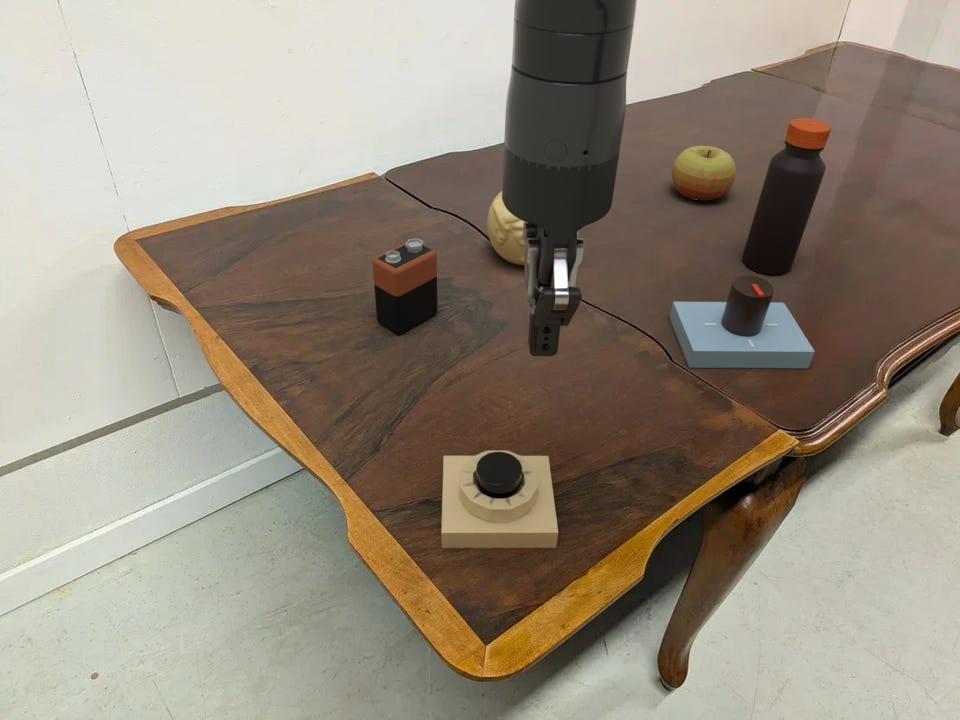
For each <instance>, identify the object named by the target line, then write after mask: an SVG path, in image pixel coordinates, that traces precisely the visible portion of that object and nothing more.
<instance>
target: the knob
mask: <svg viewBox="0 0 960 720" xmlns="http://www.w3.org/2000/svg"><path fill="white" fill-rule="evenodd" d="M728 292H729V293H728V296H727V298H726V299H727V300H726V302H727V303H726V306H725V310H724V313H723V317H722V320H721V323H722V325H723V327H724V328H725V329H726V330H728V331H729V332H731V333H733V334H736V335H739V336H754V335H757V334H758V333H760V331H761V329H762V326H763V323H764V320H765V317H766V314H767V311H768V308H769V305H770V302H771V301H772V299H773V296H774V292H775V288H774V285H773V284H771V283H770V281H768V280H766V279H764V278H762V277H758V276H756V275H740V276H737V277H735V278H734V279H733V281H732V282H731V286H730V289H729V291H728Z"/></svg>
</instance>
